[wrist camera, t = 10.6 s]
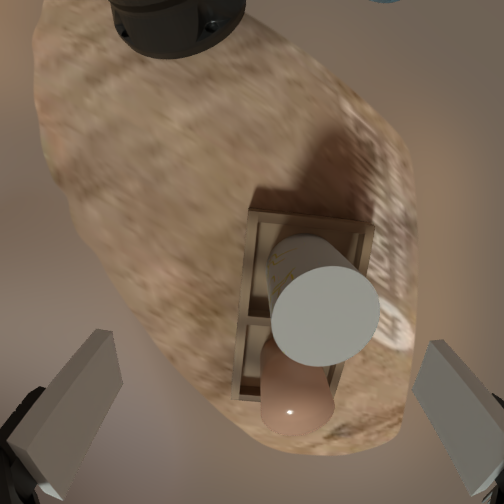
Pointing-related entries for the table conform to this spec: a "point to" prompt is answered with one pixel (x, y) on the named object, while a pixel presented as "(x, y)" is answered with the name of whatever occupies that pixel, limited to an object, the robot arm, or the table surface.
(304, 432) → the tan rounded cylinder
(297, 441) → the table surface
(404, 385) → the table surface
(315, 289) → the grey cylinder
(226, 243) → the table surface
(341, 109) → the table surface
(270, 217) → the caddy
